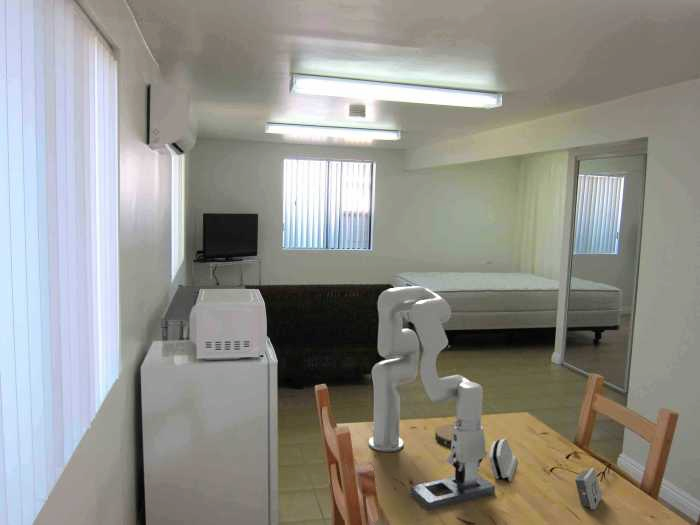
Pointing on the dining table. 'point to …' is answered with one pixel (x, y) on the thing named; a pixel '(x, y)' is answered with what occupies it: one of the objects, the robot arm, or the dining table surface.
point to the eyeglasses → (591, 456)
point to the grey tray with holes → (449, 492)
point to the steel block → (469, 475)
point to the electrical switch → (588, 488)
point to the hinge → (502, 459)
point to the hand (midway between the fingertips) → (466, 479)
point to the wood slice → (444, 434)
